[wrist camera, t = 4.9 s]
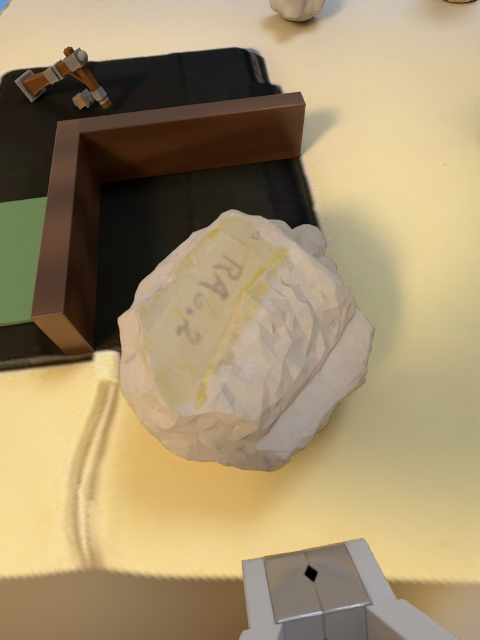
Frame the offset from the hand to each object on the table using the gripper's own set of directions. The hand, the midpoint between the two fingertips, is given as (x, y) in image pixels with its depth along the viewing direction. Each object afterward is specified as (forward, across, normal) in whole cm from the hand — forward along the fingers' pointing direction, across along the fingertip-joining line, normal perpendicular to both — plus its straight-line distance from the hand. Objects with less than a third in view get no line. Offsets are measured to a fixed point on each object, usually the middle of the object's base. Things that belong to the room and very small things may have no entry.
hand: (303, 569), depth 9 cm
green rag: (+18, +12, -8) cm, 23 cm away
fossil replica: (+12, -1, -1) cm, 12 cm away
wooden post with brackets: (+31, +11, -20) cm, 38 cm away
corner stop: (+18, +1, -8) cm, 20 cm away
